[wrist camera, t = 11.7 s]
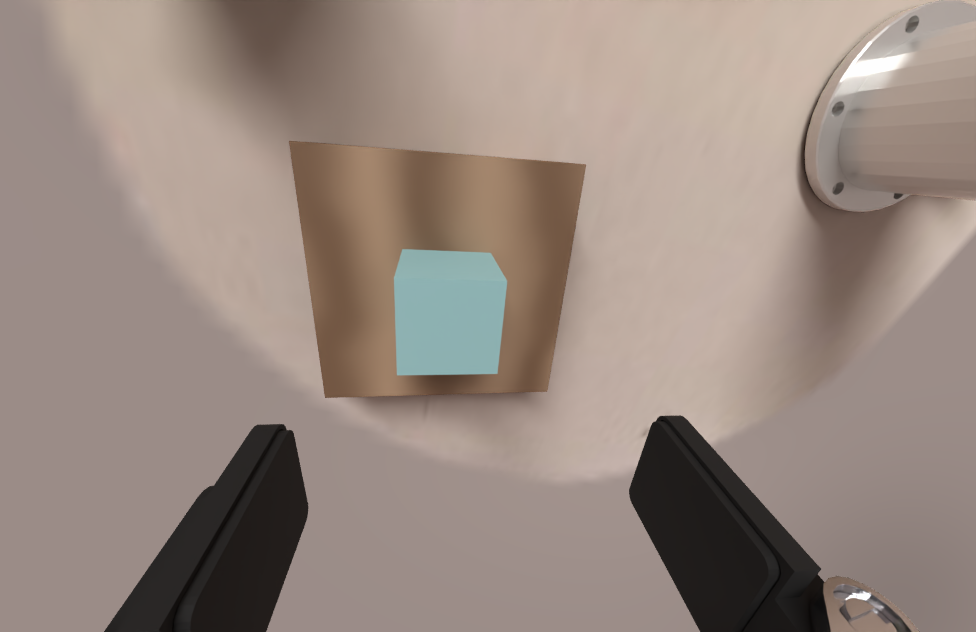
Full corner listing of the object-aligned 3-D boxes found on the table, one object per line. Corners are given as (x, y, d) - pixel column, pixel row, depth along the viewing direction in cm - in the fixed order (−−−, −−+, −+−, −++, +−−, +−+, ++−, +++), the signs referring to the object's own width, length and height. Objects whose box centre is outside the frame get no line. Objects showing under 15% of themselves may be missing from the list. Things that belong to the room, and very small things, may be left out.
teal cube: (490, 252, 21) (507, 281, 16) (484, 329, 23) (497, 373, 18) (402, 249, 20) (393, 277, 15) (404, 329, 22) (396, 375, 17)
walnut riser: (559, 162, 23) (586, 164, 19) (531, 358, 30) (547, 391, 26) (316, 142, 21) (289, 140, 17) (340, 360, 27) (325, 397, 23)
